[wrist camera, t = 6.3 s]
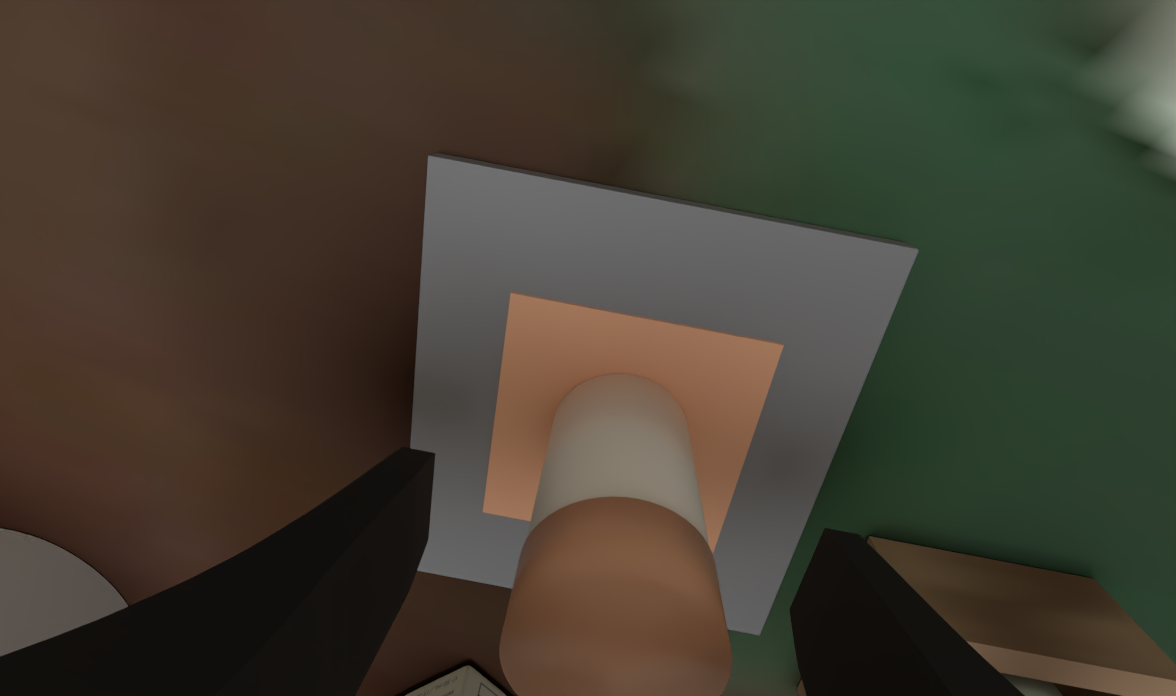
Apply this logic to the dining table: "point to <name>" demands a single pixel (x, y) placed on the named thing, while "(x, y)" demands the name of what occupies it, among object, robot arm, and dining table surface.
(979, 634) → the button housing
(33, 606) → the coffee cup
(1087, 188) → the dining table surface
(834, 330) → the grey square plate
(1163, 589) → the dining table surface
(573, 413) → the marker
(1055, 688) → the button
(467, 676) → the skincare box
